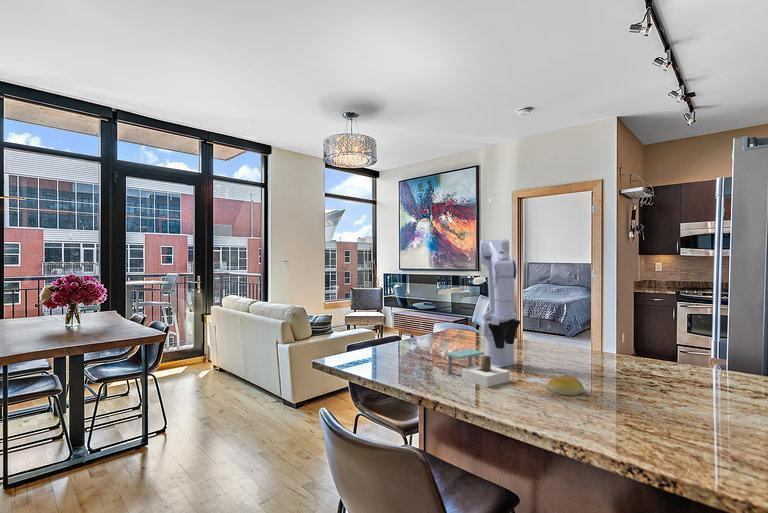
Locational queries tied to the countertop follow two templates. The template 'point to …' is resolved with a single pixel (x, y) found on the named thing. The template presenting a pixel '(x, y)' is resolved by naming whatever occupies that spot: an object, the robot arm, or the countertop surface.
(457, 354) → the awning
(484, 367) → the peg
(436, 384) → the countertop surface
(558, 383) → the bread roll
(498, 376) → the socket block
